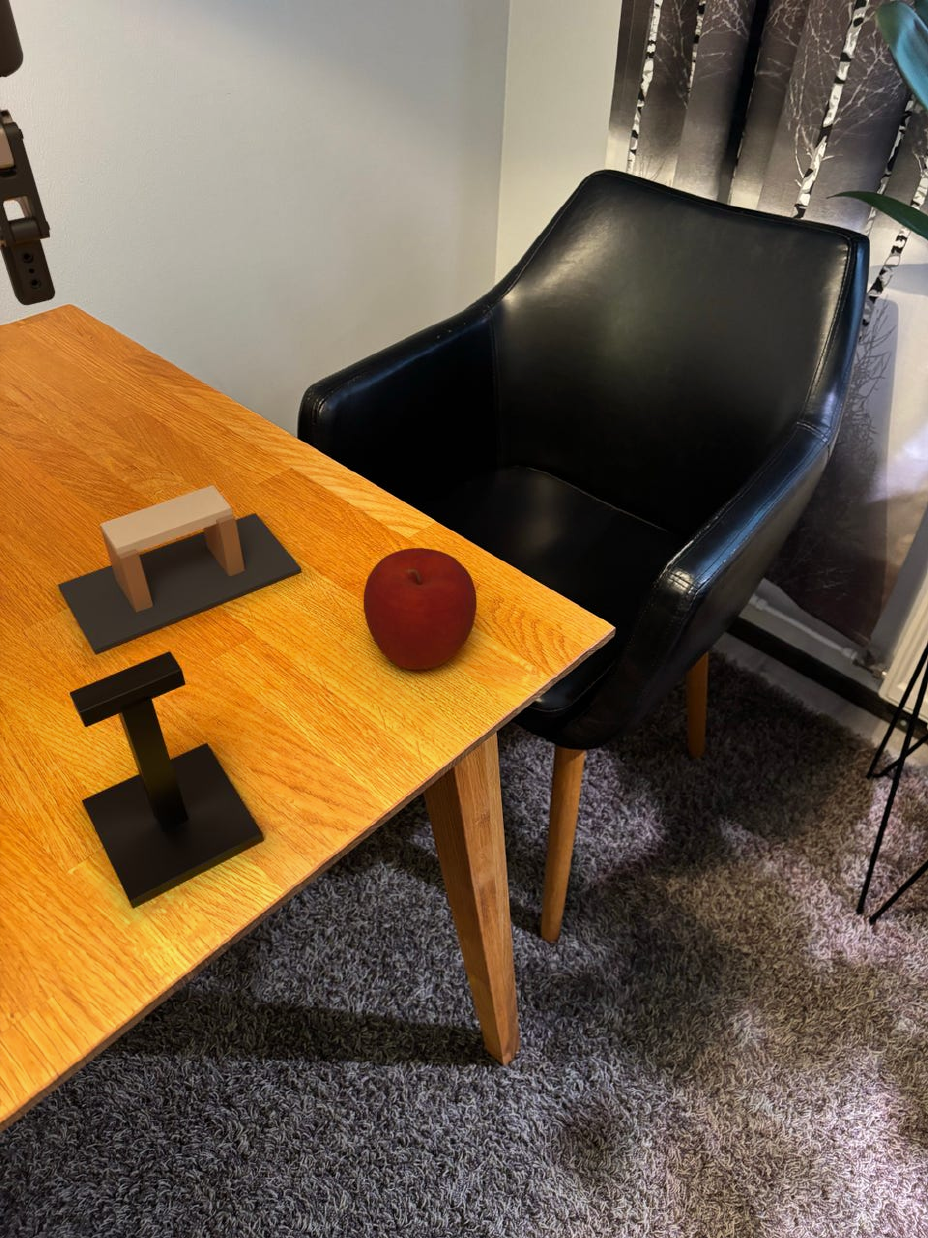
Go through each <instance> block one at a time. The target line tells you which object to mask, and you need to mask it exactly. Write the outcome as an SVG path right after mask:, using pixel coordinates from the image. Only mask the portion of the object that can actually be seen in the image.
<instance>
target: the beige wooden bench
mask: <svg viewBox="0 0 928 1238" xmlns="http://www.w3.org/2000/svg"><path fill="white" fill-rule="evenodd" d="M236 520H237V519H236V516H235V515H234V513H233V508H232V506H231V505H230V504H229V503H228V502H227V500H226V499H225V497H223V495H222V494H221V493H220V492H219V491H218V489H217V487H216V486H215V485H214V484H211V485H209V486H206V487H203V488H201V489H198V490H197V489H196V490H194V491H191V492H189V493H186V494H182V495H180V496H177V497H174V498H171V499H168V500H164V501H162V502H160V503H159V502H158V503H157V504H154V505H150V506H148V507H145V508H143V509H139V510H136V511H133V512H130V513H127V514H125V515H122V516H119V517H115V518H113V519H110V520H108V521H104V522H101V523H99V524H100V526H99V529H100V532H101V535H102V538H103V542H104V545H105V548H106V551H107V554H108V558H109V562H110V565H112V568H113V571H114V574H115V578H116V581H117V582H118V584H119V586H120V587H121V589H122V590H123V592H124V594H125V595H126V597H127V598H128V600H129V602H130V603H131V605H132V607H133V608H134V610H135V611H136V613H138V612H140V611H143V610H146V609H148V608H151V607H153V603H152V600H151V596H150V592H149V589H148V585H147V582H146V578H145V574H144V571H143V567H142V564H141V560H140V556H139V555H140V552H143V551H145V550H148V549H151V548H154V547H157V546H159V545H162V544H164V543H168V542H171V541H173V540H176V539H180V538H181V537H184V536H187V535H190V534H192V533H195V532H197V531H200V530H203V532H204V535H205V539H206V544H207V547H208V549H209V550H210V552H211V553H212V554H213V556H214V557H215V558H216V560H217V561H218V562H219V564H220V565H221V566H222V568H223V569H224V570H225V572H226V573H227V574H228V576H229V577H231V576H233V575H236V574H239V573H241V572H244V571H245V569H244V563H243V558H242V552H241V547H240V541H239V536H238V530H237V524H236Z"/></svg>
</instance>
